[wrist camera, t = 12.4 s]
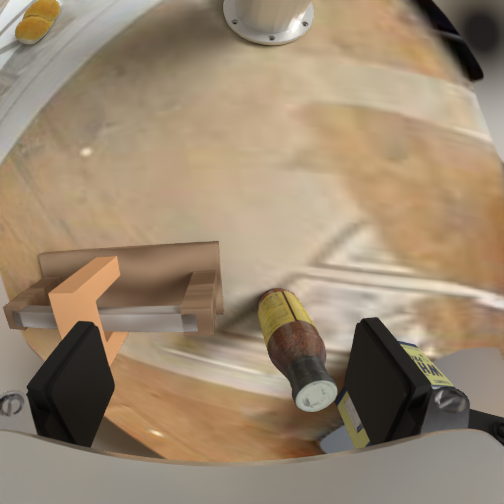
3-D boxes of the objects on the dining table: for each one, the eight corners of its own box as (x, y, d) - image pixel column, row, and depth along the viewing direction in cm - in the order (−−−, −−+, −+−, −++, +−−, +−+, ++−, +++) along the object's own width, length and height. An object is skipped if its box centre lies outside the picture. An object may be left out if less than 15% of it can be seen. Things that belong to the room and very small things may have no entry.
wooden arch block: (96, 257, 35) (48, 293, 23) (117, 256, 35) (73, 293, 23) (111, 327, 37) (77, 380, 26) (131, 327, 37) (101, 382, 26)
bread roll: (69, 2, 28) (59, -8, 24) (42, 47, 30) (30, 40, 26) (39, 1, 27) (29, -7, 23) (14, 43, 29) (2, 37, 25)
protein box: (415, 342, 48) (461, 392, 33) (376, 406, 51) (406, 460, 36) (373, 333, 46) (418, 390, 31) (333, 402, 50) (359, 464, 35)
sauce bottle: (254, 324, 44) (270, 423, 25) (258, 284, 42) (279, 373, 23) (298, 325, 44) (337, 418, 25) (304, 286, 43) (353, 370, 24)
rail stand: (43, 252, 39) (-7, 280, 26) (218, 241, 40) (212, 273, 28) (57, 311, 41) (16, 351, 29) (223, 309, 43) (221, 362, 30)
